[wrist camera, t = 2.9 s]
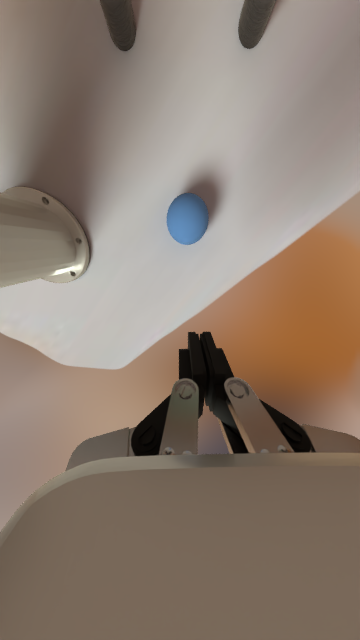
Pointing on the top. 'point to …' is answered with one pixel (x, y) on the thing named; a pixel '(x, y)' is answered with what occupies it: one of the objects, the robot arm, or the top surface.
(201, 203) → the ball
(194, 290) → the top surface
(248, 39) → the post
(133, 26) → the post
